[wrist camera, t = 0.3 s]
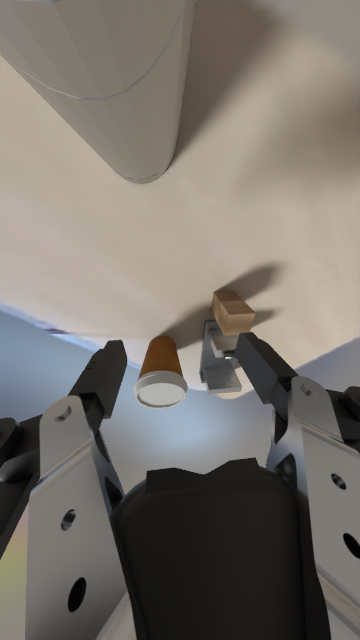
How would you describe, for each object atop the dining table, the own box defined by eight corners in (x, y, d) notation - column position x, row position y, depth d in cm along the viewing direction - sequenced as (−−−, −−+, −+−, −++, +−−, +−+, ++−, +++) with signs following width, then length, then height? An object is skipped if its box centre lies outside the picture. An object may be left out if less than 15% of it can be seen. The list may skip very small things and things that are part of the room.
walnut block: (213, 292, 26) (229, 314, 20) (234, 291, 27) (256, 313, 20) (211, 310, 29) (224, 335, 22) (229, 309, 29) (248, 334, 22)
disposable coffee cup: (136, 334, 31) (123, 386, 21) (179, 328, 31) (185, 377, 21) (147, 361, 36) (141, 413, 26) (183, 356, 36) (190, 405, 26)
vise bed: (205, 320, 30) (214, 342, 24) (249, 317, 31) (268, 338, 25) (199, 373, 41) (204, 396, 35) (232, 370, 42) (242, 393, 36)
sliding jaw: (208, 330, 30) (219, 355, 25) (245, 327, 31) (264, 352, 25) (208, 336, 32) (217, 362, 26) (243, 334, 32) (261, 359, 26)
